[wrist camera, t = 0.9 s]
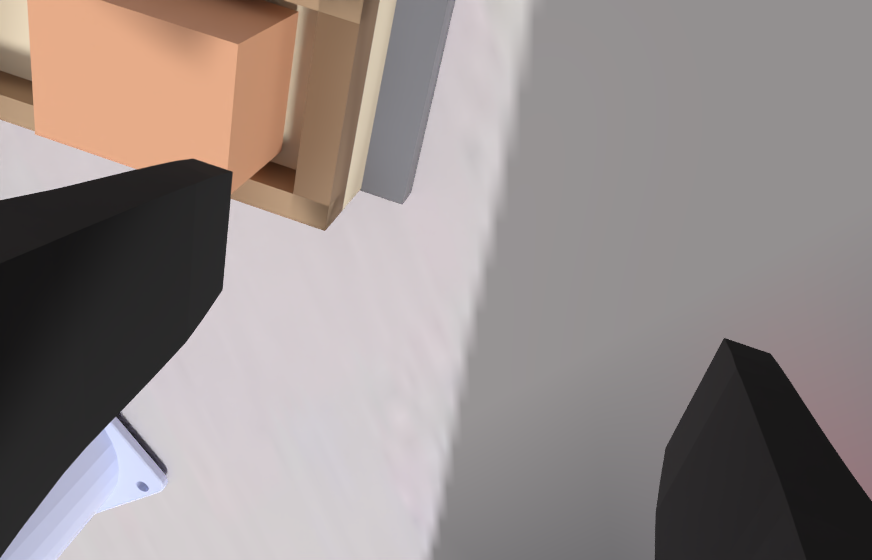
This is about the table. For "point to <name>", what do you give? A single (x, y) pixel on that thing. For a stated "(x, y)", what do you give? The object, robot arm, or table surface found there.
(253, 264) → the table surface
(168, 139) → the block
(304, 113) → the balance beam
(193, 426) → the table surface
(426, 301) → the table surface
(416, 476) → the table surface
